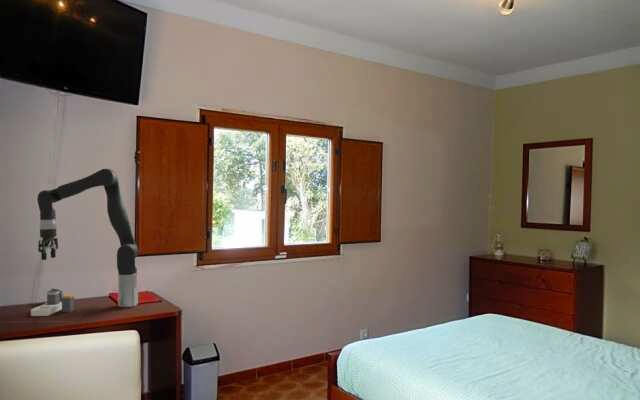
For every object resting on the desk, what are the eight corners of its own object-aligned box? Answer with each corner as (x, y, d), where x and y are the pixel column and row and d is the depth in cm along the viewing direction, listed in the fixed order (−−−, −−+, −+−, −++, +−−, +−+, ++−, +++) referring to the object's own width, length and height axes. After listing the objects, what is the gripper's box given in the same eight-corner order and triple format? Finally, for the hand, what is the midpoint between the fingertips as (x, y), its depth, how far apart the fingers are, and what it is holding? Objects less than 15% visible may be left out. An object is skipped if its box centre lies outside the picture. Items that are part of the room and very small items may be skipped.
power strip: (64, 309, 233) (64, 301, 233) (47, 317, 217) (47, 309, 217) (48, 309, 233) (49, 301, 233) (30, 317, 217) (30, 309, 217)
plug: (74, 311, 229) (74, 294, 229) (70, 314, 225) (70, 296, 225) (65, 312, 229) (65, 294, 229) (61, 314, 225) (61, 296, 224)
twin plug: (59, 308, 232) (59, 290, 232) (55, 310, 228) (55, 292, 228) (51, 308, 232) (51, 291, 232) (46, 310, 228) (47, 292, 227)
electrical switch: (66, 305, 243) (65, 288, 242) (56, 308, 238) (55, 291, 238) (57, 303, 248) (56, 286, 247) (47, 305, 244) (46, 289, 243)
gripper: (47, 229, 230) (48, 260, 230) (62, 227, 244) (63, 256, 245) (32, 229, 230) (33, 260, 230) (48, 227, 244) (49, 257, 244)
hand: (48, 258), depth 237 cm, fingers open, 8 cm apart
